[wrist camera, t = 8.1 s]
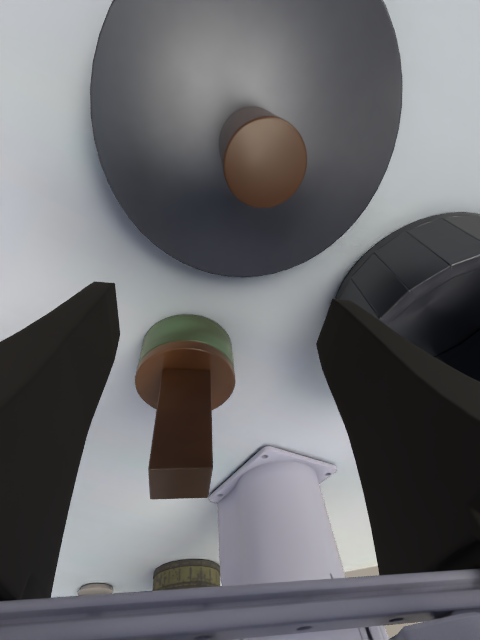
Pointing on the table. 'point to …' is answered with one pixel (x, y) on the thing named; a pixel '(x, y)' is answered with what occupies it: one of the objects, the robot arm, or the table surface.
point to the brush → (184, 400)
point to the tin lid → (245, 124)
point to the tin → (426, 287)
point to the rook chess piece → (95, 589)
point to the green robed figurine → (186, 575)
